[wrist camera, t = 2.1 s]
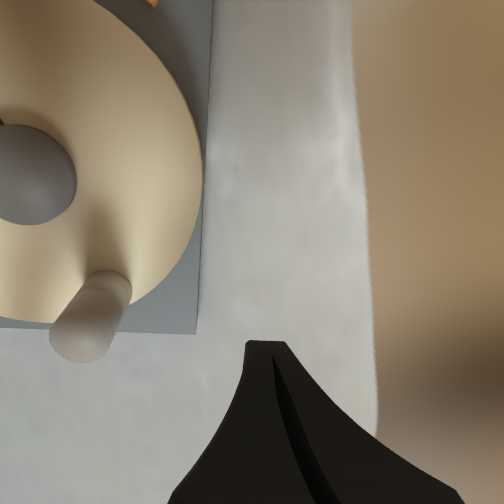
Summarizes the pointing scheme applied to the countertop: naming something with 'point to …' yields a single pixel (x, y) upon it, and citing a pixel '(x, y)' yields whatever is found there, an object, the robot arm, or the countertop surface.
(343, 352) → the countertop surface
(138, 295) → the cam dial
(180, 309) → the dial board
